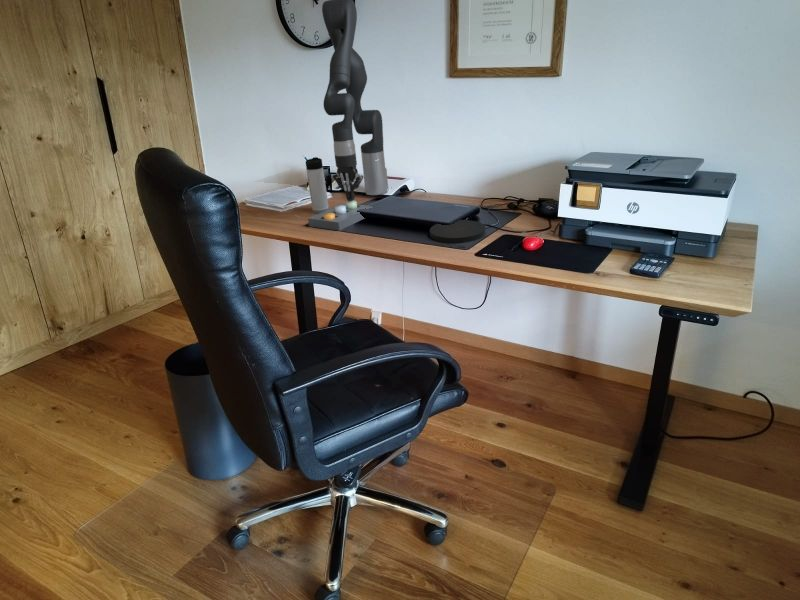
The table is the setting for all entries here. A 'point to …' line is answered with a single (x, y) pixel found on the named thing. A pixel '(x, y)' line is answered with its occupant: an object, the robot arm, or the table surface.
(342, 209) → the blue-grey button
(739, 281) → the table surface
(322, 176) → the travel mug
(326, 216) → the orange button
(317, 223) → the button panel
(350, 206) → the sage button
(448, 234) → the wireless charger
